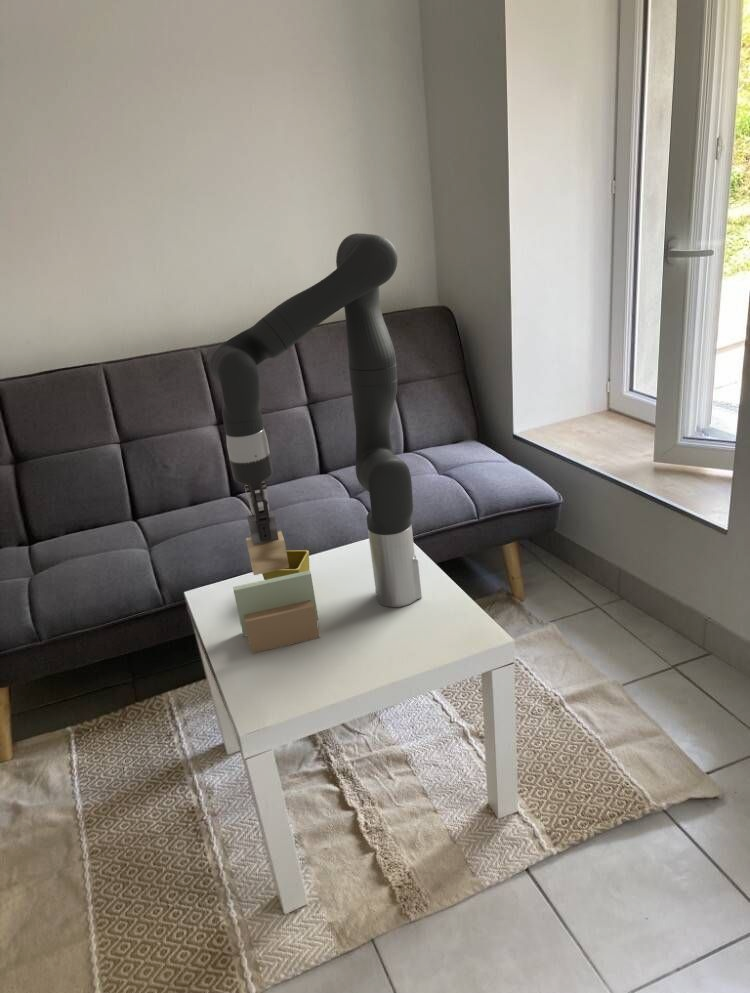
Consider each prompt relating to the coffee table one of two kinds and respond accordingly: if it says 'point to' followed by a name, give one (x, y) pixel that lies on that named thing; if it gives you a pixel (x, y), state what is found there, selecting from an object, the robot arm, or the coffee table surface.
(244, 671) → the coffee table surface
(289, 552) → the flower pot
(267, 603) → the wall board
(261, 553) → the cabinet block
